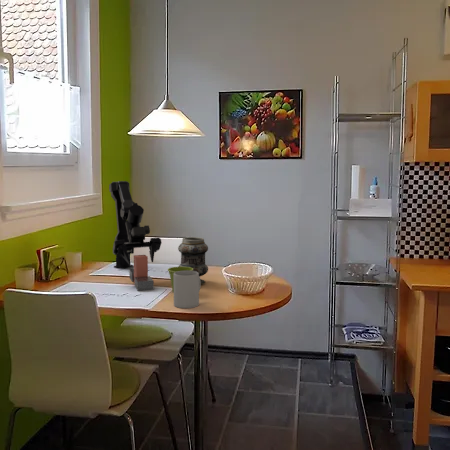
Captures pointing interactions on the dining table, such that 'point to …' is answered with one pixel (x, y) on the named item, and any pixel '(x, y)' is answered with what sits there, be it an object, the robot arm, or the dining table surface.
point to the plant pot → (175, 269)
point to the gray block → (141, 281)
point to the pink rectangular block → (140, 266)
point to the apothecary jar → (194, 255)
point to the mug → (186, 289)
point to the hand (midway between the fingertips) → (141, 262)
